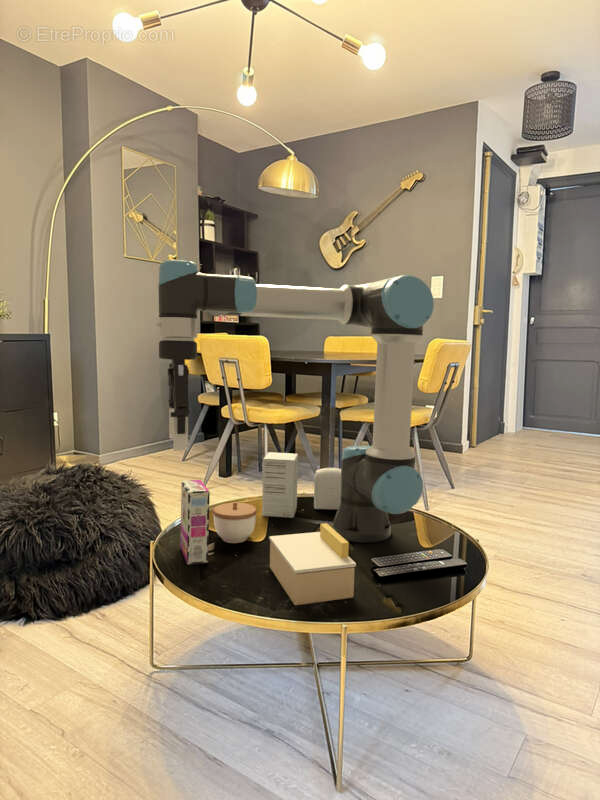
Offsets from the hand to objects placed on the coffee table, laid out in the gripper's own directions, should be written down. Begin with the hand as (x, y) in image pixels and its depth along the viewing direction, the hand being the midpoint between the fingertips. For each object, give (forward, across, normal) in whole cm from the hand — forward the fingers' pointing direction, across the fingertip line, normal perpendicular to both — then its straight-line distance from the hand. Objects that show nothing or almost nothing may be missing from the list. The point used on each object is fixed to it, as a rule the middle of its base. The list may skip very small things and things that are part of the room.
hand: (178, 443), depth 109 cm
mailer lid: (+22, +10, +26) cm, 35 cm away
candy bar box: (+28, -10, +4) cm, 30 cm away
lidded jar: (+28, -18, +15) cm, 37 cm away
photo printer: (+28, -36, +48) cm, 66 cm away
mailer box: (+28, +10, +26) cm, 39 cm away
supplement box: (+28, -36, +32) cm, 56 cm away
